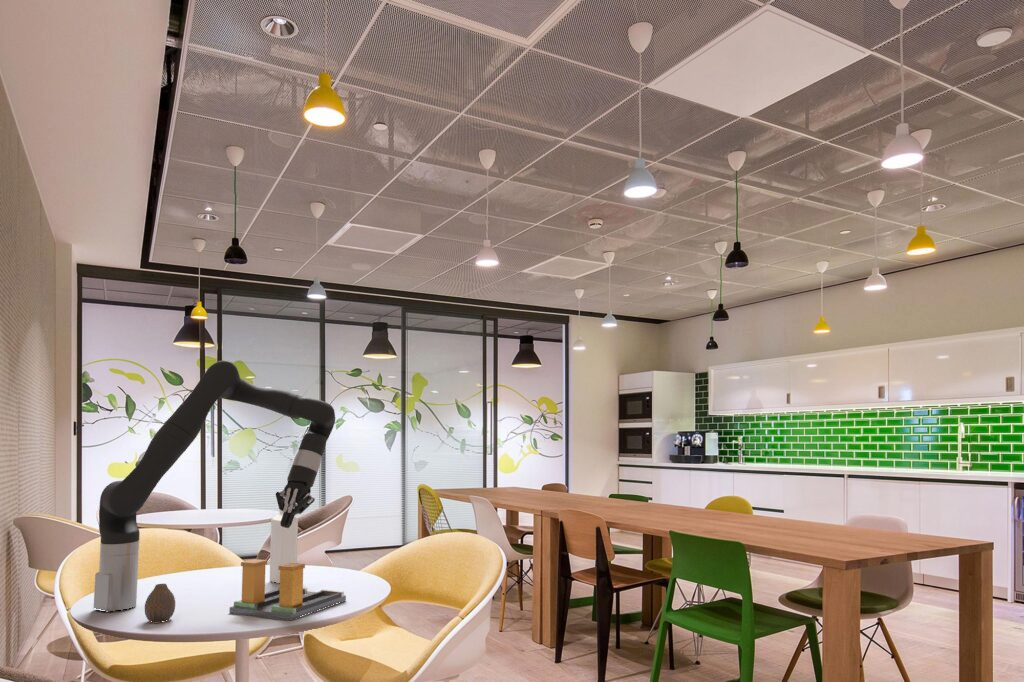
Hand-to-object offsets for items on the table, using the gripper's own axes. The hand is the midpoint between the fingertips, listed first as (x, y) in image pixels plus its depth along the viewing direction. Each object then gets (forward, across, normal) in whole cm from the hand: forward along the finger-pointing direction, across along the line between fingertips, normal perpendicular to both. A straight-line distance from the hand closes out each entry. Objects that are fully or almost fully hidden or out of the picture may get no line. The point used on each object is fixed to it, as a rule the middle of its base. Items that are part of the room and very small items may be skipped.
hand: (284, 527), depth 207 cm
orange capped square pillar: (+22, -3, +5) cm, 23 cm away
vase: (+31, +11, +19) cm, 38 cm away
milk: (+12, +15, -25) cm, 32 cm away
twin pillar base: (+20, -9, -2) cm, 22 cm away
